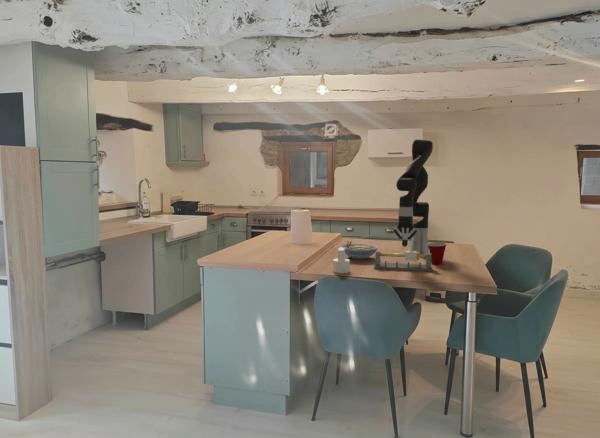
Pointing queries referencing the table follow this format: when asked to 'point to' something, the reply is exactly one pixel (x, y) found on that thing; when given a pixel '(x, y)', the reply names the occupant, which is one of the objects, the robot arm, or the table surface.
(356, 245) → the ramen bowl
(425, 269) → the cable comb fixture
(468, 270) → the table surface
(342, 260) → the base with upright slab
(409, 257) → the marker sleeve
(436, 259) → the plastic cup
